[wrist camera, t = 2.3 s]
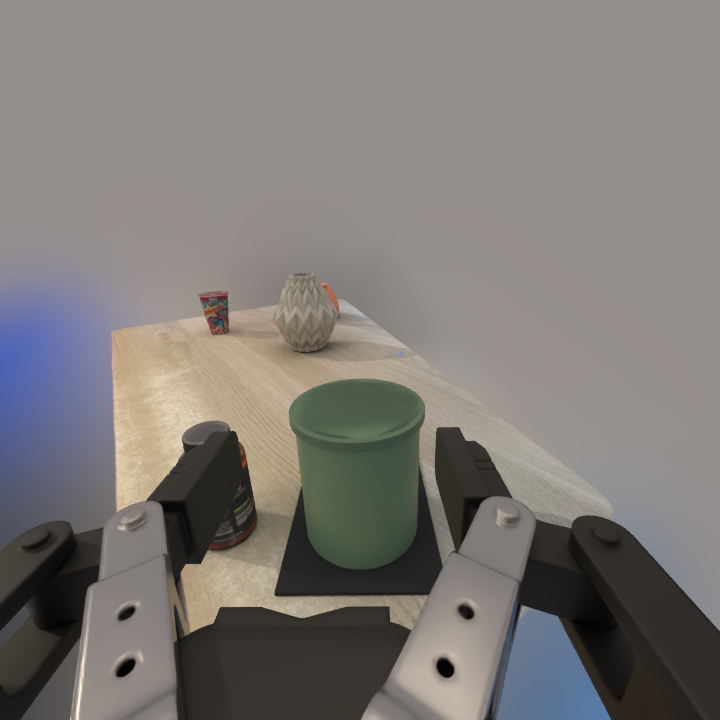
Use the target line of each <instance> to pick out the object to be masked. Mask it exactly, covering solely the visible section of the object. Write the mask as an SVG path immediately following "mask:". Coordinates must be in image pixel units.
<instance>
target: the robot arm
mask: <svg viewBox="0 0 720 720" xmlns="http://www.w3.org/2000/svg"><path fill="white" fill-rule="evenodd" d="M169 473H170V474H169V475H167V476H166V477H165V478H164V480H163V481H162V482H161V483H160V484H159V486H158V487H157V488H156V489H155V490H154V492H153V493H152V494H151V495H150V497H149V498H148V499H147V500H146V501H144V502H139V503H135V504H133V505H130V506H128V507H126V508H124V509H122V510H120V511H119V512H117V513H116V514H115V515H113V516H112V517H111V518H110V520H108V522H107V523H106V525H105V527H103V528H99V529H95V530H91V531H87V532H83V533H79V534H74V532H73V529H72V527H71V525H70V523H68V522H66V521H53V522H48V523H45V524H42V525H39V526H37V527H34V528H32V529H30V530H28V531H26V532H25V533H23V534H21V535H20V536H18V537H17V538H15V539H14V540H13V541H12V542H10V543H9V544H8V545H7V546H6V547H4V548H3V549H2V550H1V551H0V630H2V628H3V627H4V626H5V625H6V624H7V623H8V622H9V621H10V620H11V619H12V618H13V617H14V616H15V615H16V614H17V613H18V611H19V610H20V609H21V608H22V607H23V606H24V605H25V606H26V608H27V610H28V612H29V614H30V617H29V618H28V619H27V620H26V621H25V622H24V623H23V625H22V626H21V627H20V628H19V629H18V630H17V631H16V632H15V633H14V635H13V636H12V637H11V638H10V639H9V640H8V641H7V642H6V644H5V645H4V646H3V647H2V648H1V649H0V720H20V719H21V718H22V716H23V715H24V714H25V712H26V711H27V710H28V708H29V707H30V705H31V704H32V703H33V701H34V700H35V698H36V697H37V696H38V694H39V693H40V691H41V690H42V689H43V688H44V686H45V685H46V683H47V682H48V681H49V679H50V678H51V677H52V675H53V674H54V672H55V671H56V670H57V668H58V667H59V666H60V664H61V663H62V661H63V660H64V659H65V657H66V656H67V654H68V653H69V652H70V651H71V649H72V648H73V646H74V645H75V644H76V642H77V641H78V640H79V638H80V637H81V639H80V647H79V654H78V662H77V669H76V677H75V685H74V693H73V700H72V707H71V715H70V720H496V717H497V713H498V709H499V704H500V700H501V695H502V690H503V685H504V680H505V675H506V670H507V666H508V662H509V658H510V653H511V649H512V645H513V641H514V636H515V632H516V628H517V624H518V620H519V615H520V611H521V607H522V605H523V606H527V607H530V608H533V609H537V610H540V611H543V612H546V613H549V614H553V615H556V616H558V617H559V619H560V621H561V623H562V625H563V627H564V629H565V631H566V633H567V635H568V637H569V638H570V640H571V642H572V644H573V646H574V648H575V650H576V652H577V654H578V656H579V658H580V660H581V662H582V664H583V666H584V668H585V670H586V672H587V673H588V675H589V677H590V679H591V681H592V683H593V685H594V687H595V689H596V691H597V693H598V695H599V697H600V699H601V701H602V703H603V705H604V706H605V708H606V710H607V712H608V714H609V716H610V718H611V720H720V631H719V630H718V629H717V628H716V627H715V626H714V625H713V623H712V622H711V621H710V620H709V619H708V618H707V617H706V616H705V615H704V613H702V611H701V610H700V609H699V608H698V607H697V606H696V605H695V603H693V601H692V600H691V599H690V598H689V597H688V596H687V595H686V594H685V592H684V591H683V590H682V589H681V588H680V587H679V586H678V585H677V584H676V582H675V581H674V580H673V579H672V578H671V577H670V576H669V575H668V574H667V573H666V571H664V569H663V568H662V567H661V566H660V565H659V564H658V563H657V561H656V560H655V559H654V558H653V557H652V556H651V555H650V554H649V553H648V551H647V550H646V549H645V548H644V547H643V546H642V545H641V544H640V543H639V541H638V540H637V539H636V538H635V537H634V536H633V535H632V534H631V533H630V532H629V531H627V530H626V529H625V528H623V527H622V526H620V525H619V524H617V523H615V522H613V521H611V520H608V519H605V518H602V517H598V516H589V515H587V516H581V517H578V518H576V519H575V520H574V521H573V523H572V528H567V527H562V526H558V525H554V524H549V523H545V522H542V521H539V520H537V519H535V516H534V514H533V513H532V511H531V510H530V509H529V508H528V507H527V506H525V505H524V504H522V503H521V502H519V501H517V500H514V499H513V498H512V496H511V494H510V493H509V491H508V489H507V487H506V485H505V483H504V482H503V480H502V478H501V476H500V474H499V473H498V471H497V470H496V467H495V465H494V463H493V462H492V461H491V458H490V456H489V454H488V453H487V451H486V449H485V448H483V447H482V446H481V445H480V444H478V443H477V442H476V441H465V439H464V437H463V434H462V432H461V430H460V428H459V427H440V428H437V432H436V451H435V475H436V482H437V485H438V489H439V493H440V496H441V500H442V503H443V507H444V511H445V514H446V518H447V521H448V525H449V528H450V532H451V536H452V539H453V543H454V546H455V550H456V551H454V550H453V551H452V552H451V553H450V554H449V556H448V558H447V560H446V562H445V564H444V566H443V568H442V570H441V572H440V574H439V576H438V578H437V580H436V582H435V584H434V586H433V588H432V590H431V592H430V594H429V596H428V598H427V600H426V602H425V604H424V607H423V609H422V611H421V613H420V615H419V617H418V619H417V621H416V623H415V625H414V627H413V629H412V631H411V630H410V629H408V628H406V627H403V626H401V625H399V624H396V623H392V622H390V613H389V607H344V608H341V609H337V610H333V611H329V612H326V613H322V614H318V615H315V616H311V617H307V618H297V617H294V616H290V615H287V614H283V613H280V612H276V611H273V610H269V609H266V608H263V607H220V609H219V611H218V614H217V616H216V619H215V621H214V624H210V625H208V626H205V627H202V628H200V629H198V630H196V631H194V632H192V633H190V627H189V620H188V613H187V607H186V600H185V593H184V586H183V580H182V576H181V571H182V569H183V568H184V566H185V564H201V562H202V560H203V558H204V556H205V554H206V552H207V550H208V548H209V546H210V544H211V543H212V541H213V539H214V537H215V535H216V533H217V531H218V529H219V527H220V525H221V523H222V521H223V519H224V517H225V515H226V513H227V511H228V509H229V507H230V505H231V503H232V501H233V499H234V497H235V495H236V493H237V491H238V489H239V487H240V485H241V482H242V478H243V465H242V459H241V454H240V448H239V442H238V437H237V434H236V432H235V431H214V432H212V433H211V434H210V435H209V437H208V438H207V439H206V440H205V442H204V443H203V444H202V446H196V447H195V448H193V449H192V450H190V451H189V452H187V453H186V454H184V456H183V457H182V458H181V459H180V460H179V462H178V463H177V464H176V466H174V468H173V469H172V470H171V471H170V472H169Z"/></svg>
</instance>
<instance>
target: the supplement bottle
mask: <svg viewBox="0 0 720 720" xmlns="http://www.w3.org/2000/svg"><path fill="white" fill-rule="evenodd" d="M214 431H230V428H229V426H228V424H227V423H225V422H222V421H207V422H203V423H199V424H197V425H195V426H193V427H191V428H189V429H188V430H187V431H186V432H185V433H184V434H183V436H182V442H183V446H184V447H183V448H184V451H185V452H184V453H183V454H182V455H181V457H180V458H179V460H180V459H181V458H182V457H183V456H184V454H186V453H187V452H189V451H190V450H192V449H193V448H195V447H196V446H202V444H203V443H204V442H205V440H206V439H207V438H208V437H209V435H210V434H211V433H212V432H214ZM238 442H239V441H238ZM239 448H240V454H241V459H242V465H243V478H242V482H241V485H240V487H239V489H238V491H237V493H236V495H235V497H234V499H233V501H232V503H231V505H230V507H229V509H228V511H227V513H226V515H225V517H224V519H223V521H222V523H221V525H220V527H219V529H218V531H217V533H216V535H215V537H214V539H213V541H212V543H211V544H210V546H209V549H222V548H227V547H231V546H233V545H235V544H237V543H238V542H240V541H242V540H243V539H244V538H245V537H247V536H248V535H249V533H250V532H251V531H252V530H253V528H254V526H255V524H256V520H257V514H256V508H255V502H254V497H253V491H252V486H251V481H250V476H249V470H248V465H247V460H246V454H245V450H244V447H243V445H242V444H241V443H240V442H239ZM179 460H178V462H179Z"/></svg>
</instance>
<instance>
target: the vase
mask: <svg viewBox="0 0 720 720" xmlns="http://www.w3.org/2000/svg"><path fill="white" fill-rule="evenodd" d="M288 278H289V279H288V281H287V282H286V286H285V288H284V289H283V290H282V294H281V298H280V302H279V304H278V306H277V308H276V310H275V313H274V315H273V318H272V320H273V321H274V323H275V324H276V326H277V327H278V329H279V331H280V333H281V335H282V336H283V338H284V339H285V341H286V342H287V343H289V344H290V345H291V348H292V349H293V350H294V351H299V352H304V351H305V352H310V351H317V350H320V349H323V347H325V346H326V341H328V340H329V338H330V336H331V334H332V332H333V329H334V326H335V323H336V320H337V318H338V316H339V314H338V312H337V310H336V308H335V306H334V304H333V303H332V302H331V301H330V300H329V297H328V295H327V293H326V290H325V288H324V287H323V286H322V285H321V284H320V282H319V280H318V279H317V278H316V275H315V274H311V273H309V274H307V273H304V274H294V275H289V277H288Z"/></svg>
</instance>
